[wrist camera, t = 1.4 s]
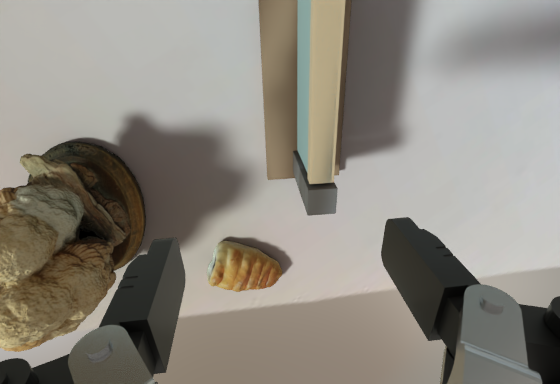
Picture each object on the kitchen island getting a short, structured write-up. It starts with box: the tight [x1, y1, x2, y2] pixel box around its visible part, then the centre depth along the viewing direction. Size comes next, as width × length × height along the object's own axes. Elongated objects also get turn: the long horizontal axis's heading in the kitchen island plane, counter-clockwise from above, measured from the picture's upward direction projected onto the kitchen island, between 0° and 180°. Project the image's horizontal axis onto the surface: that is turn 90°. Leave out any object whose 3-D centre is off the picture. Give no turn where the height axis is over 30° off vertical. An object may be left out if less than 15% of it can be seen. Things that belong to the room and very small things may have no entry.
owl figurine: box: [0, 142, 145, 352], centre depth 27 cm, size 18×12×17 cm, turn 172°
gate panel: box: [297, 0, 345, 184], centre depth 25 cm, size 2×14×8 cm, turn 1°
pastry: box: [207, 241, 282, 292], centre depth 39 cm, size 9×7×4 cm
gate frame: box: [259, 0, 351, 215], centre depth 26 cm, size 8×21×10 cm, turn 1°
